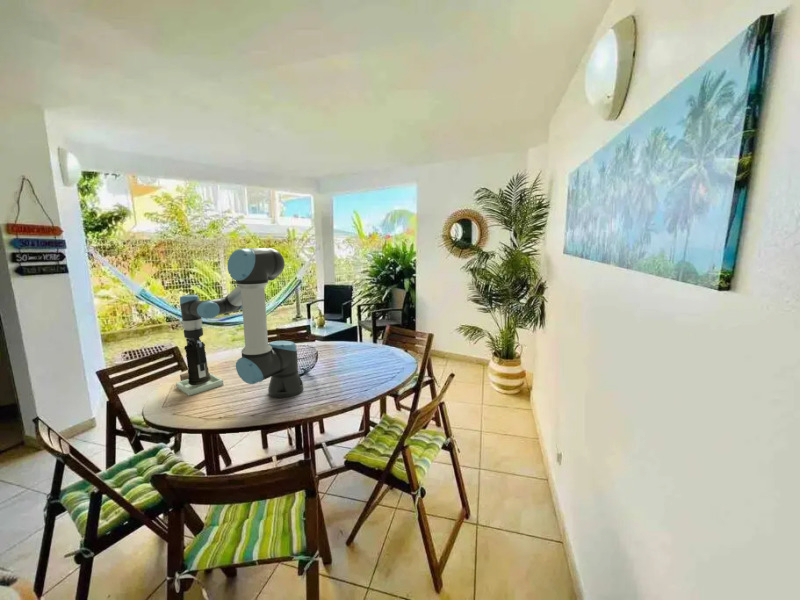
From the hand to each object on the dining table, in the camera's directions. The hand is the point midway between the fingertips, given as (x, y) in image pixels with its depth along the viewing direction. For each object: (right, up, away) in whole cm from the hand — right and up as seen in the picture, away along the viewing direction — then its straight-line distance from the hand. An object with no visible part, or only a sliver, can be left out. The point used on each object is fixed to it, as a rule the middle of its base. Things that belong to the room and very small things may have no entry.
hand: (198, 374), depth 159 cm
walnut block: (-10, -5, +6) cm, 13 cm away
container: (0, -3, +1) cm, 4 cm away
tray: (0, -6, +1) cm, 6 cm away
